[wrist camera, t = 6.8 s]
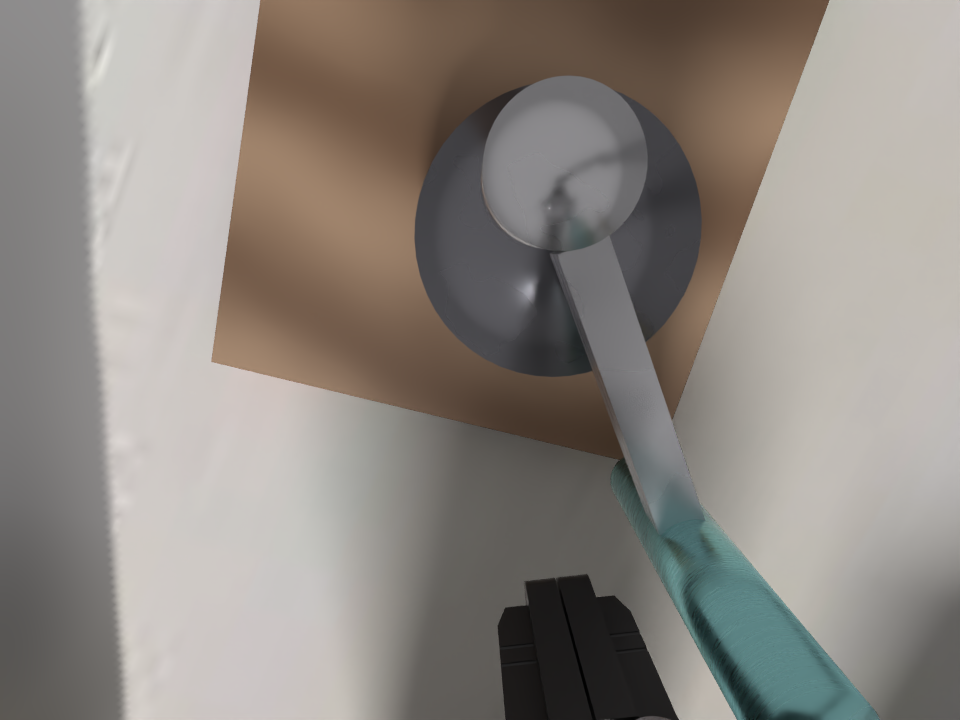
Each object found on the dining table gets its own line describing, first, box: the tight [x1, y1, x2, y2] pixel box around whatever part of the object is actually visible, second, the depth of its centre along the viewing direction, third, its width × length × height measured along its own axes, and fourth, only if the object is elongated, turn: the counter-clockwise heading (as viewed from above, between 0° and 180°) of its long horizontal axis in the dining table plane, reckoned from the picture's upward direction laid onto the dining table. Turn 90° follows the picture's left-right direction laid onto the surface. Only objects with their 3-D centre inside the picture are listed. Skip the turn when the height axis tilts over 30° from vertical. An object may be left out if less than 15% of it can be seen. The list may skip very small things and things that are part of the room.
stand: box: [211, 0, 829, 460], centre depth 13 cm, size 18×16×8 cm
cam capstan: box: [414, 76, 880, 720], centre depth 12 cm, size 14×8×10 cm, turn 22°
